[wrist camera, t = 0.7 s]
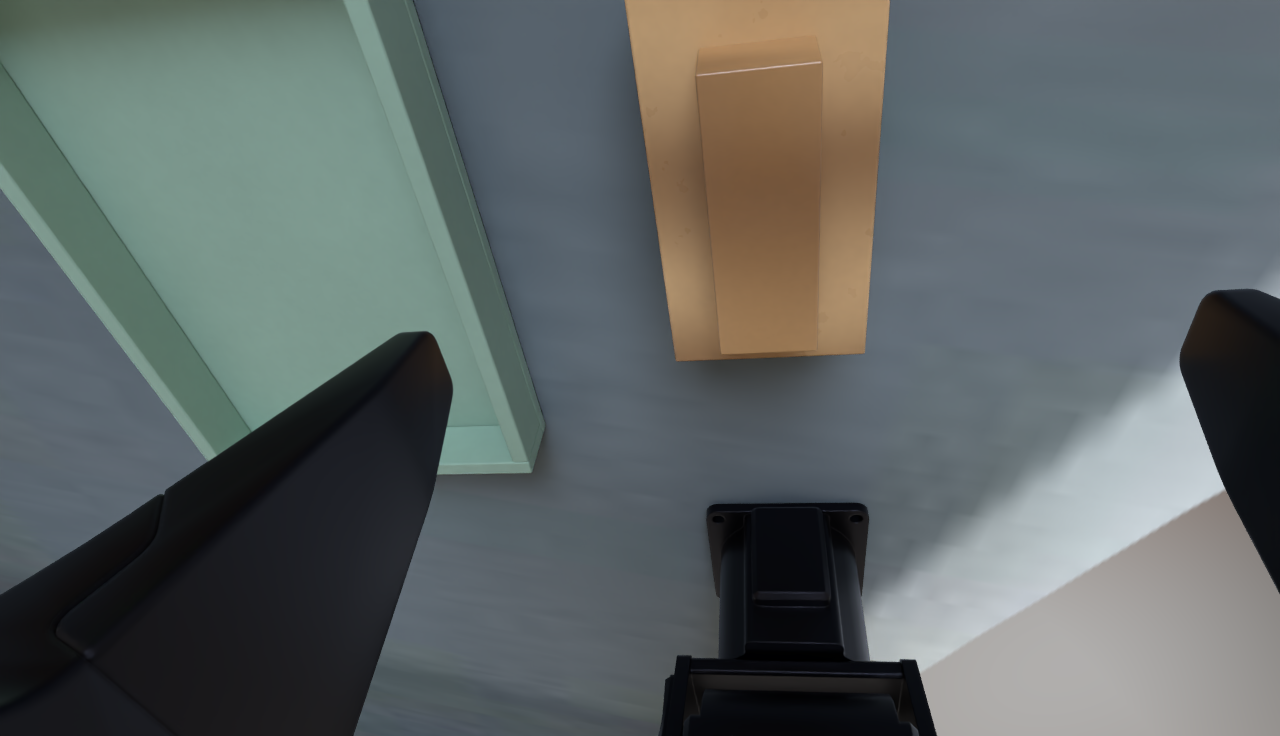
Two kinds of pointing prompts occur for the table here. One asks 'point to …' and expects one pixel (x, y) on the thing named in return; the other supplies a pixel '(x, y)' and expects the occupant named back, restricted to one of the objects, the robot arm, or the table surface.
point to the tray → (260, 205)
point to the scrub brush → (762, 168)
